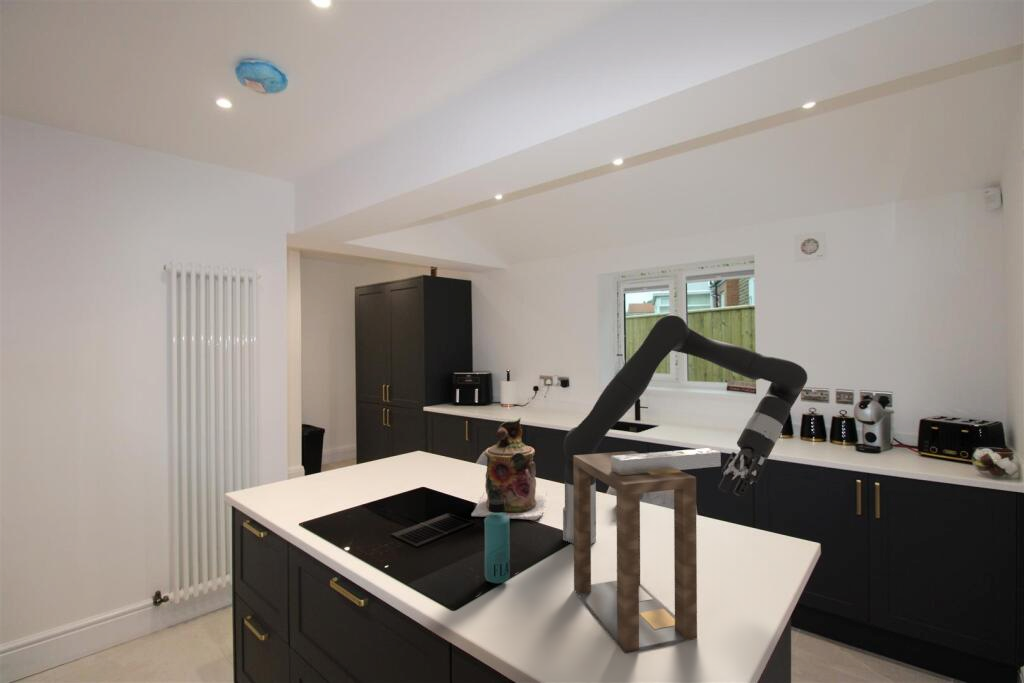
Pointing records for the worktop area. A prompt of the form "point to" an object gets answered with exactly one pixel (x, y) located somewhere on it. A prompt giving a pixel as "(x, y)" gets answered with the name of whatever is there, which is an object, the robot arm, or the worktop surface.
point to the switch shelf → (636, 556)
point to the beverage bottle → (497, 543)
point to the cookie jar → (511, 476)
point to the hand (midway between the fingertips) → (729, 492)
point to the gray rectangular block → (665, 461)
